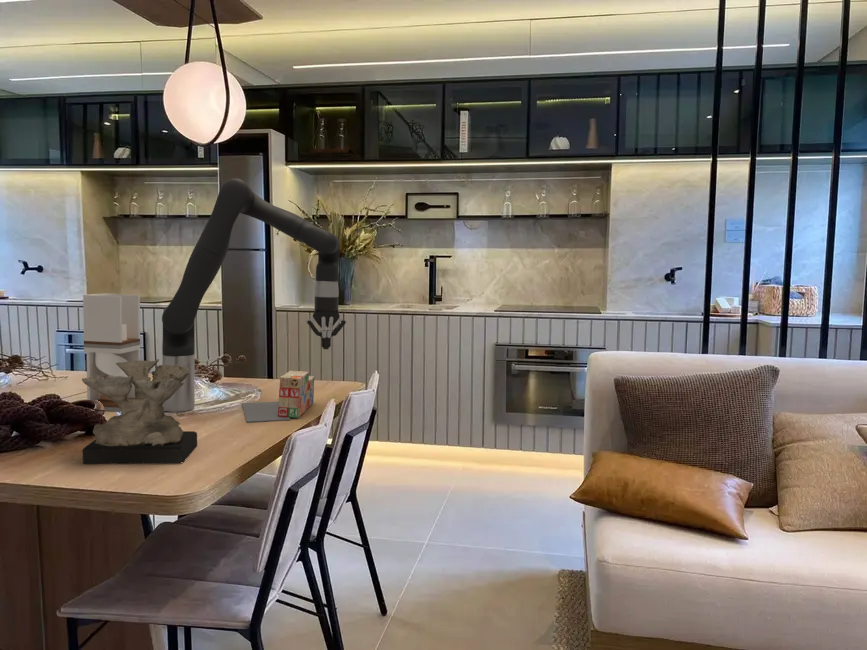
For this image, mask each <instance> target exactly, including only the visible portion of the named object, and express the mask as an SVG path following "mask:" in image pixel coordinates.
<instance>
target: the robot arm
mask: <svg viewBox="0 0 867 650" xmlns="http://www.w3.org/2000/svg"><path fill="white" fill-rule="evenodd" d="M240 214H242V215H245V216H248V217H252V219H256V220H259V221H261V222H263V223H265V224H267V225H269V227H270V226H271V227H272V228H274V229H276V230H278V231H279V232H281V233H283V234H285V235H287V236H288V237H291V238H292V239H294V240H296V241H298V242H301V243H302V244H305V245H307V247H308V248H309V247H310V248H311V249H312V250H314V251H316V252H318V254H317V255H318V256H317V257H318V258H317V259H318V260H317V264H316V267H315V284H314V311H313V314H312V317H310V319H307V320H306V321H305V322H306V324H307V325H308V327H309V328H310V329H311V330H312V332H313V333H314V335H316V336H318V337H320V338H321V339H320V346H321V348H322V349H323V350H329V348H330V347H332V346H331V345H332V343H331V342H332V341H331V340H332V339H331V338H332V337H334V336H335V337H336V336H337V335H338V333H339V332H340V331H341V330H342V328H344V326H345V325H346V323H347V321H346V320H344V319H343V318H342V317H340V316H341V315H340V313H339V297H340V296H339V295H340V293H339V260H340V249H341V247H340V245H341V243H340V239H339V237H338V236H337V235H336V234H333V232H329V231H327V230H324V229H323V228H320V227H319V226H316V225H315V224H313V223H312V222H310V221H308V220H307V219H306V218H303V217H302V216H299V215H298V214H295V213H293V212H291V211H289V210H286V209H283V208H281V207H279V206H275V205H273V204H272V203H269V202H268V201H266V200H265V199H263V198H262V197H260V196H259V195H258V194H256V193H255V192H254V191H253V190H252V189H251V187H250V186H249V185H248V184H247V182H246V181H244V180H242V179H241V178H235V177H233V178H230V179H228V180H226V181H225V182H224V183H223V184H222V185H221V187H220V189H219V192H218V195H217V198H216V200H215V203H214V205H213V209H212V211H211V214H210V215H209V219H208V220H207V223H206V224H205V226H204V228H203V230H202V232H201V234H200V237H199V238H198V240H197V242H196V244H195V245H194V247H193V249H192V252H191V254H190V256H189V258H188V262H187V264H186V266H185V269H184V272H183V276H182V280H181V282H180V284H179V287H178V289H177V291H176V293H175V294H174V296H173V298H172V299H171V301H170V302H169V303H168V305H167V306H166V307H165V309H164V310H163V312H162V316H161V322H162V348H161V351H162V353H161V354H162V359H161V360H162V361H161V362H162V364H161V365H168V366H169V365H172V366H173V365H180V366H183V367H185V368H187V369H189V370H190V371H189V372H190V374H189V375H188V376H187V377H186V378H185V379H184V380H183V381H182V382H184V384H183V385H182V386H181V387H180V388H178V390H176V392H175V393H174V394H173V395H172V396H171V397H170V398H169V399H168V400H166V401H165V402H164V403H163V405H162V406H163V407H164V412H170V413H175V412H176V413H177V412H178V413H179V412H188V411H192V410H193V408H194V409H195V403H196V401H195V392H196V390H195V389H196V388H195V383H196V382H195V377H196V376H195V371H196V369H195V367H196V366H195V360H196V359H195V351H196V350H195V348H196V347H195V346H196V345H195V342H196V340H195V332H196V331H195V326H196V325H195V321H196V317H197V313H198V310H199V307H200V305H201V302H202V300H203V297H204V296H205V294H206V293H207V290H209V288H210V286H211V285H212V283H213V281H214V280H215V278H216V277H217V274H218V272H219V271H220V269H221V267H222V264H223V263H224V260H225V258H226V256H227V253H228V251H229V246H230V241H231V237H232V236H231V235H232V231H233V227H234V224H235V223H236V220H237V219H238V216H239V215H240ZM315 322H316V323H315ZM315 324H317V325H318V326H319V330H320V331H319V330H318V328H317V327H316V326H315ZM335 324H337V325H336V326H335ZM334 326H335V327H334ZM333 327H334V329H333ZM182 382H181V383H182ZM191 409H192V410H191Z"/></svg>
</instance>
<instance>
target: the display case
mask: <svg viewBox="0 0 867 650" xmlns="http://www.w3.org/2000/svg"><path fill="white" fill-rule="evenodd" d="M82 298H83V299H82V303H83V304H82V307H83V308H82V310H83V313H82V315H83V318H82V319H83V353H86V378H89V377H92V376H95V375H96V376H99V377H100V376H102V377H103V378H104V379H105V380H107V381H108V380H109V378H108V376H111V375H113V376H124V377H128V376H127V375H126V374H125V372H124V371H122V370H121V369H120V368H119V366H118V365H116V363H118V362H121V363H122V362H131V361H138V360H141V310H140V309H141V302H140V301H141V299H140V298H141V295H140V294H126V293H125V294H121V293H120V294H119V293H93V294H83V295H82ZM86 395H87V396H86V397H87V398H86V399H87V400H98V401H100V402H101V403H102V404H103V406H104V409H105V411H104V412H121V409H120V408H119V407H118V405H117V404H116V403H115V402H114V401H113V400H111V399H110V398H108V397H106V396H104V395H102V394H101V393H99V392H97V391H96V390H94V389H93V388H91V387H89V386H87V385H86ZM127 397H128V398H130V399H135V386H134V385H133V384H132V388H131V390H130V392H129V394H128V395H127ZM87 400H86V401H87Z"/></svg>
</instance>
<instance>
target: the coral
mask: <svg viewBox="0 0 867 650" xmlns="http://www.w3.org/2000/svg"><path fill="white" fill-rule="evenodd" d="M159 361H160V359H159V358H156V359H155V360H152V361H150V360H141V359H140V360H138V361H131V362H122V363H121V362H118V363H116V365H118V366H119V368H120V369H121V370H122V371H124V372H125V374H126V375H127V376H128V377H124V376H113V375H111V376H108V378H109V380H108V381H107V380H105V379H104V378H103V377H102V376H100V377H99V376H96V375H95V376H92V377H89V378H87V377H85V378H84V377H82V379H81V381H82V383H83V384H85V385H86V387H87V386H89V387H91V388H93V389H94V390H96V391H97V392H99V393H101V394H102V395H104V396H106V397H108V398H110V399H111V400H113V401H114V402H115V403H116V404H117V405H118V407H119V408H120V409H121V413H120V415H113V416H111V417H110V418H109V419H108V420H107V421H106V422H104V423H103V424H101V423H98V424H97V423H96V424H95V425H94V428H92V429H93V430H92V433H93V435H94V436H95V440H93V441H91V442H90V443H88V444H87V445H86V446H84V447H83V448H82V450H81V451H82V464H87V465H93V464H94V465H96V464H97V465H99V464H100V465H102V464H103V465H104V464H105V465H110V464H111V465H112V464H113V465H115V464H116V465H118V464H120V465H121V464H126V465H127V464H129V465H130V464H131V465H132V464H135V465H136V464H141V465H142V464H182V463H181V462H183V463H185V461H186V460H187V459H186V458H189V456H190V455H191V454H192V453H193V452H194V450H195V449H196V448H197V447H198V432H196V431H193V430H191V431H186V430H185V431H184V430H183V429H182V427H181V426H179V425H180V424H181V422H180V421H178V420H176V419H175V418H174V417H173V416H171V415H166V414H165V411H164V407H163V406H162V405H163V403H164V402H165V401H166V400H168V399H169V398H170V397H171V396H172V395H173V394H174V393H175V392H176V390H178V388H180V387H181V386H182V385H183V384H184V382H182V381H183V380H184V379H185V378H186V377H187V376H188V375H189V374H190V372H189V371H190V370H189V369H187V368H185V367H183V366H180V365H173V366H172V365H169V366H168V365H162V364H160V365H157V364H158V362H159ZM156 365H157V366H156ZM155 366H156V369H154V370H153V371H152V372H151V375H152V376H149V372H150V370H152V368H154V367H155ZM151 378H152V379H151ZM181 382H182V383H181ZM132 384H133V385H134V386H135V399H130V398H128V397H127V395H128V394H129V392H130V390H131V388H132ZM185 459H186V460H185Z"/></svg>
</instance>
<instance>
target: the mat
mask: <svg viewBox="0 0 867 650" xmlns="http://www.w3.org/2000/svg"><path fill="white" fill-rule="evenodd" d="M241 406H242V407H241V408H242V411H243V413H244V414H243V415H244V417H245V421H246V423H248V424H249V423H250V424H251V423H267V422H285V421H291V417H279V416H278V407H279V400H278V401H259V402H258V401H256V402H242V403H241Z"/></svg>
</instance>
